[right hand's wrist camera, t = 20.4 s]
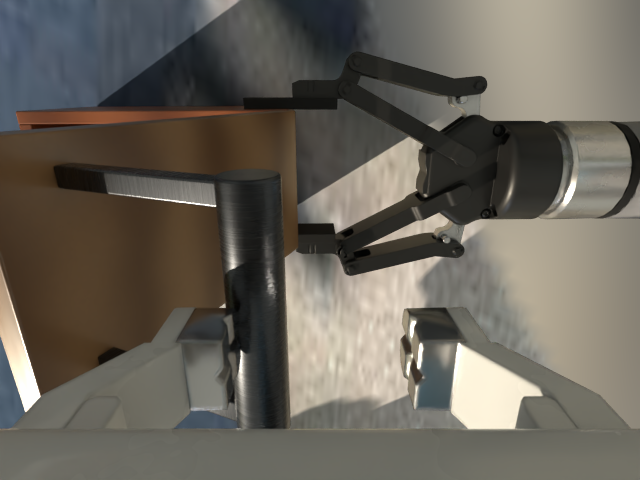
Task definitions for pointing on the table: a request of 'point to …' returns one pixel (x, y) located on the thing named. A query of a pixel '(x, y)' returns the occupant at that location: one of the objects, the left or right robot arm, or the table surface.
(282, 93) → the table surface
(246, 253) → the lid
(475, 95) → the left robot arm
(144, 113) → the chest
